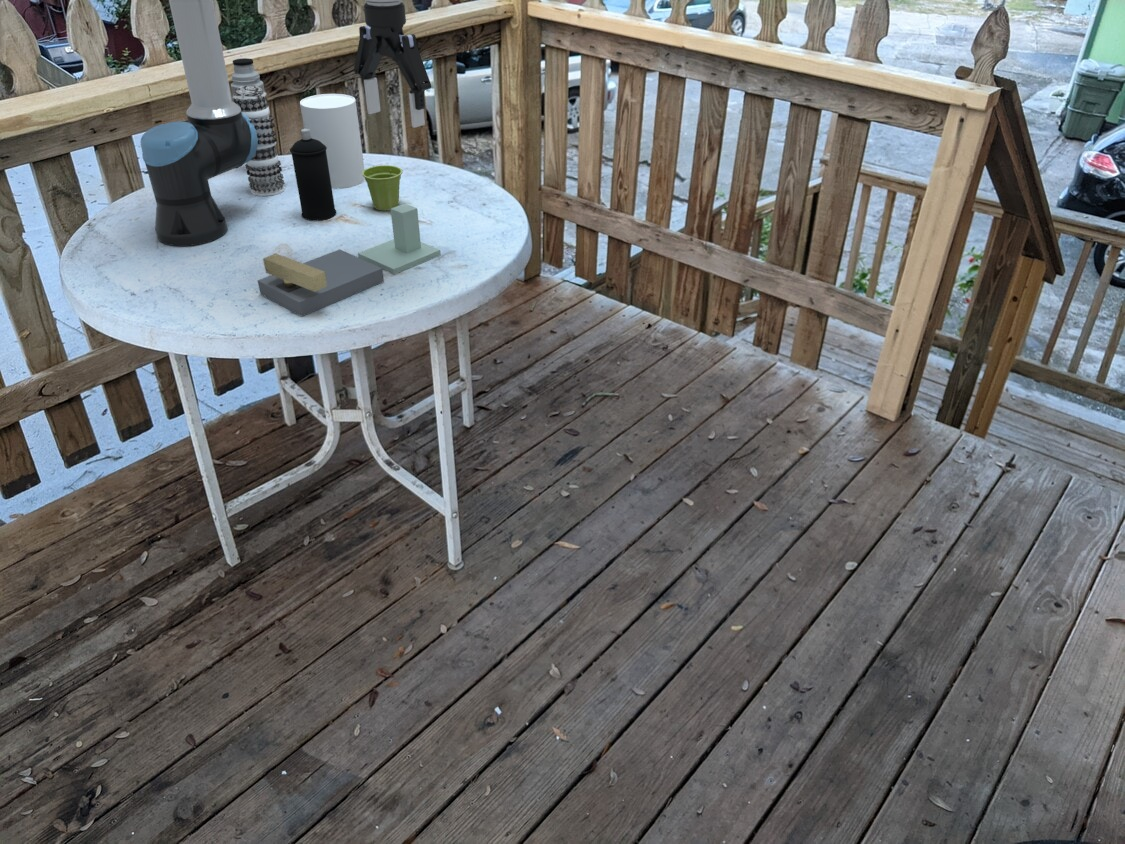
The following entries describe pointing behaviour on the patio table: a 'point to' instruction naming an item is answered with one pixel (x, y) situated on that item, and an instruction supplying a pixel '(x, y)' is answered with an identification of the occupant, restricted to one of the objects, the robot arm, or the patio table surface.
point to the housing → (341, 278)
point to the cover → (401, 244)
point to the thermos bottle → (245, 75)
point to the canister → (336, 135)
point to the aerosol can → (313, 178)
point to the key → (295, 272)
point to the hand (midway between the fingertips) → (395, 119)
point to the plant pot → (383, 185)
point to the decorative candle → (261, 143)
